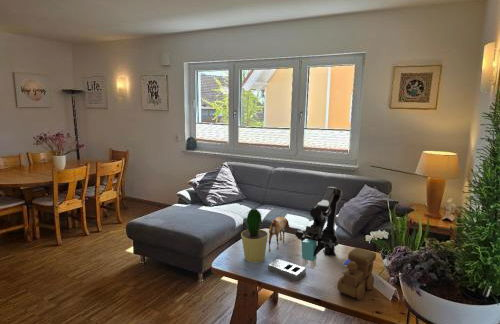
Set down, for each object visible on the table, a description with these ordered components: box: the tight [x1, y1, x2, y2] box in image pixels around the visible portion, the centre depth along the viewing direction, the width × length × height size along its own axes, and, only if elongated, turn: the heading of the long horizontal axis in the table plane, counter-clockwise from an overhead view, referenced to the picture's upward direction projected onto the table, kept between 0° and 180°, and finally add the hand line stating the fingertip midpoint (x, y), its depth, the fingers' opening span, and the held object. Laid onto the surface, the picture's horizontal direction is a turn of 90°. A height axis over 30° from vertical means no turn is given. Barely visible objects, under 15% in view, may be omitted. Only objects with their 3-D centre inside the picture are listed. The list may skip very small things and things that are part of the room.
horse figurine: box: [268, 216, 293, 253], centre depth 197 cm, size 31×8×21 cm, turn 152°
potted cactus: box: [240, 208, 269, 263], centre depth 179 cm, size 15×15×30 cm
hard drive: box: [342, 258, 350, 268], centre depth 174 cm, size 2×8×12 cm
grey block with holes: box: [267, 258, 307, 281], centre depth 166 cm, size 9×18×3 cm, turn 52°
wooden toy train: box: [336, 247, 377, 300], centre depth 147 cm, size 20×11×17 cm, turn 137°
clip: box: [301, 239, 318, 270], centre depth 157 cm, size 4×6×13 cm, turn 53°
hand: (308, 254), depth 156 cm, fingers closed on clip, 6 cm apart
